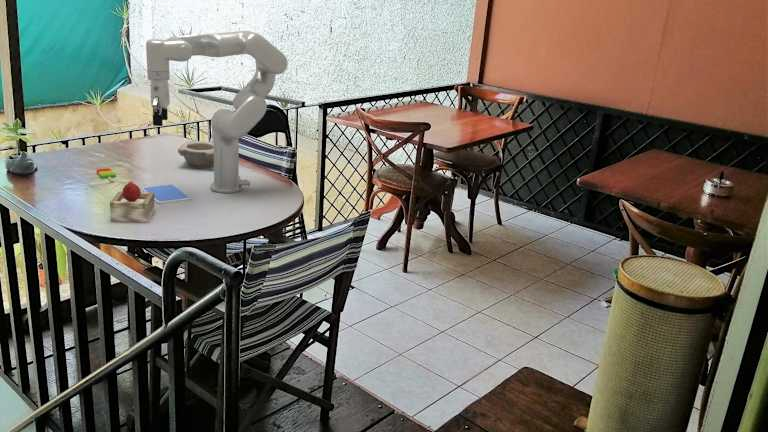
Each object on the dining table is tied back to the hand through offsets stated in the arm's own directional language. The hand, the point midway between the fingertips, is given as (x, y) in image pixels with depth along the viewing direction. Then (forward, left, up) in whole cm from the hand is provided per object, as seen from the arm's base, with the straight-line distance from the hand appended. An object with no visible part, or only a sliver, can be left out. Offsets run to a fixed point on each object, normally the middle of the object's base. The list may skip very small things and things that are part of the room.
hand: (160, 122), depth 249 cm
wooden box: (+6, +21, -29) cm, 36 cm away
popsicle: (+26, -22, -29) cm, 45 cm away
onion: (+6, +21, -24) cm, 32 cm away
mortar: (-8, -43, -29) cm, 52 cm away
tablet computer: (0, -3, -29) cm, 29 cm away
